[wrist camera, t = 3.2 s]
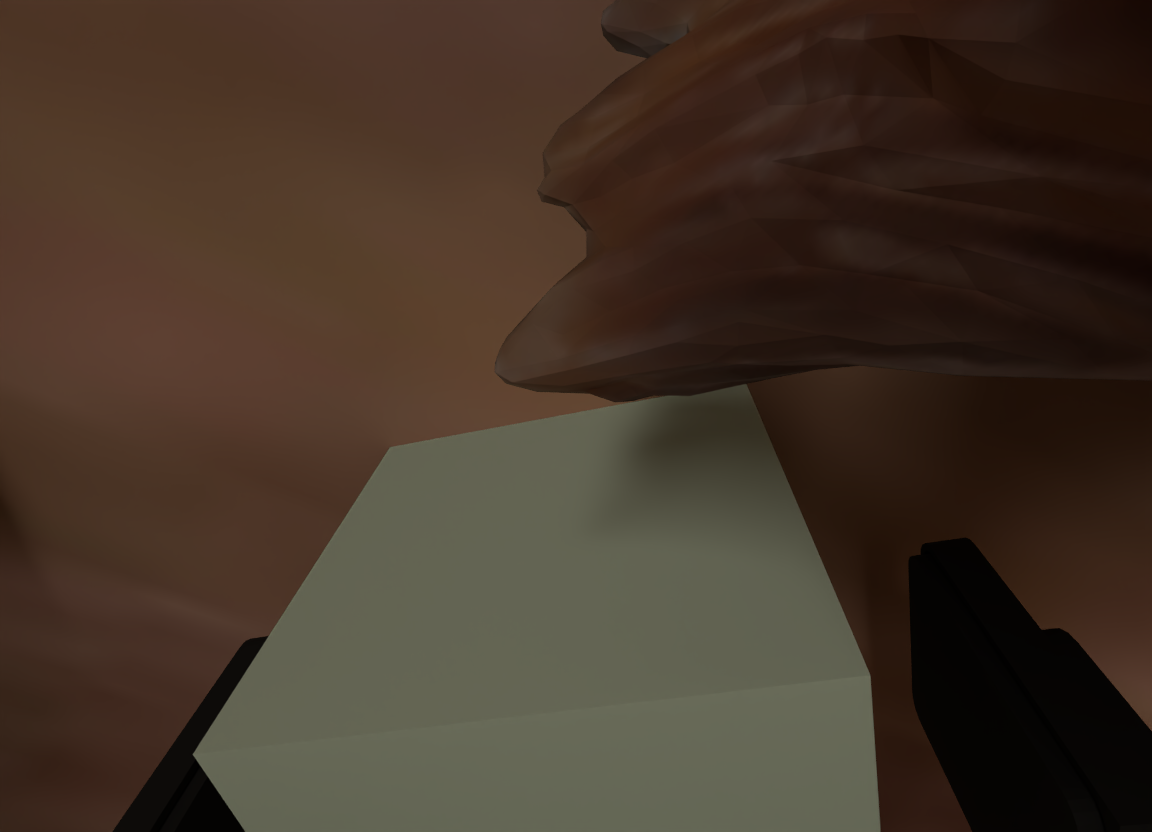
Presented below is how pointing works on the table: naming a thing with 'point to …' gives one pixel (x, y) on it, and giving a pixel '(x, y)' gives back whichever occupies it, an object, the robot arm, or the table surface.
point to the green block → (562, 644)
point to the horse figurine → (853, 197)
